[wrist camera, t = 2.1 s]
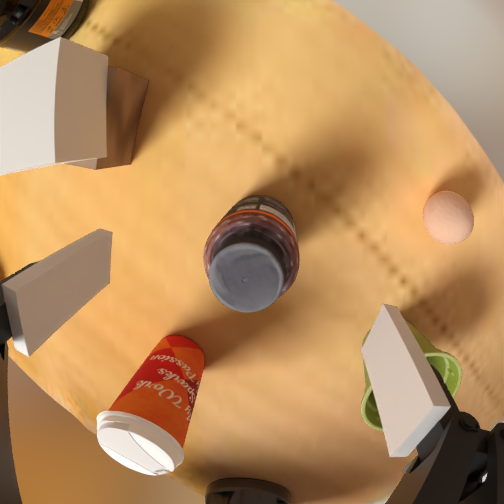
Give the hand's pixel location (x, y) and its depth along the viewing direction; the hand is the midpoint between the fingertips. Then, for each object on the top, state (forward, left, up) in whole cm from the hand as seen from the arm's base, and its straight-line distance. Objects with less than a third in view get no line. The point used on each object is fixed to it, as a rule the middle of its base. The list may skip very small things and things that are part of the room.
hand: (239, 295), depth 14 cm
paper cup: (-16, +5, -14) cm, 22 cm away
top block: (+7, +17, -8) cm, 20 cm away
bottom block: (+7, +17, -14) cm, 23 cm away
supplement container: (+19, +28, -14) cm, 36 cm away
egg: (+6, -15, -14) cm, 21 cm away
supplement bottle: (0, 0, -14) cm, 14 cm away
